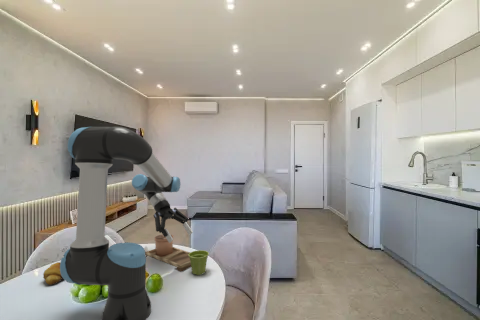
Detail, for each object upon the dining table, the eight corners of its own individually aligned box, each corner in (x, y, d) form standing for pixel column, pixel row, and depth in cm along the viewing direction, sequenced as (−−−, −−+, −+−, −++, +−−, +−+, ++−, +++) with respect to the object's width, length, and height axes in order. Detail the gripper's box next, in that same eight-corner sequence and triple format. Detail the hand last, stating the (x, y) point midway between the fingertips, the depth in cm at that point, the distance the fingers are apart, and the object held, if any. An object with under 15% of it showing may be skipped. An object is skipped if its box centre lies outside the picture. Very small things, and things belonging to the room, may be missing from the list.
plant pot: (186, 270, 120) (186, 252, 120) (205, 266, 124) (205, 249, 124) (191, 278, 111) (191, 259, 111) (211, 274, 115) (211, 255, 115)
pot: (177, 252, 138) (177, 236, 138) (162, 258, 130) (161, 241, 130) (166, 248, 144) (166, 233, 144) (150, 254, 136) (150, 237, 136)
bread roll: (58, 286, 105) (57, 267, 105) (34, 287, 104) (34, 268, 104) (77, 272, 118) (76, 255, 117) (55, 273, 117) (55, 256, 117)
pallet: (202, 261, 129) (202, 256, 129) (180, 271, 118) (180, 266, 118) (166, 249, 147) (166, 244, 147) (144, 256, 136) (144, 252, 136)
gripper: (174, 204, 143) (194, 235, 135) (136, 212, 121) (157, 249, 114) (181, 196, 140) (202, 226, 132) (143, 202, 118) (166, 239, 111)
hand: (181, 237), depth 123 cm, fingers open, 13 cm apart
